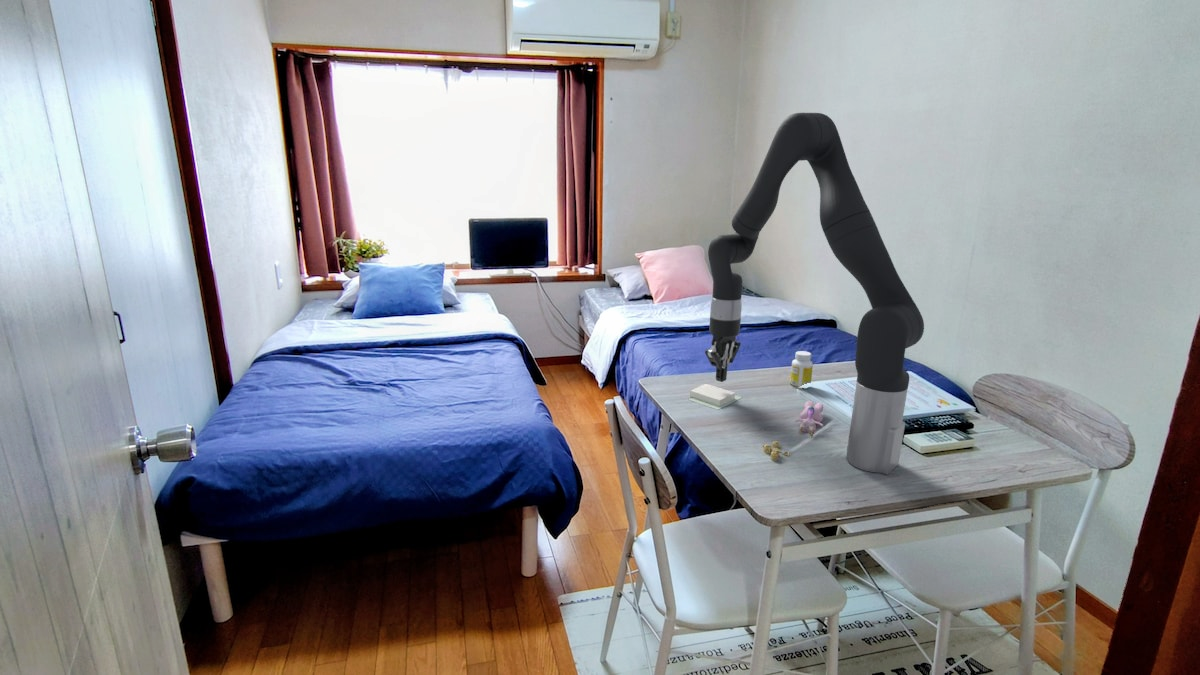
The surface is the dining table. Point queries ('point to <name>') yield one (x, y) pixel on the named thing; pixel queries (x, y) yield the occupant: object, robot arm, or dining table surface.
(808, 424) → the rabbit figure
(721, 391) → the tile
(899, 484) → the dining table surface
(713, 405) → the mat
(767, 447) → the yellow speckled pebbles
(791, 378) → the supplement bottle
